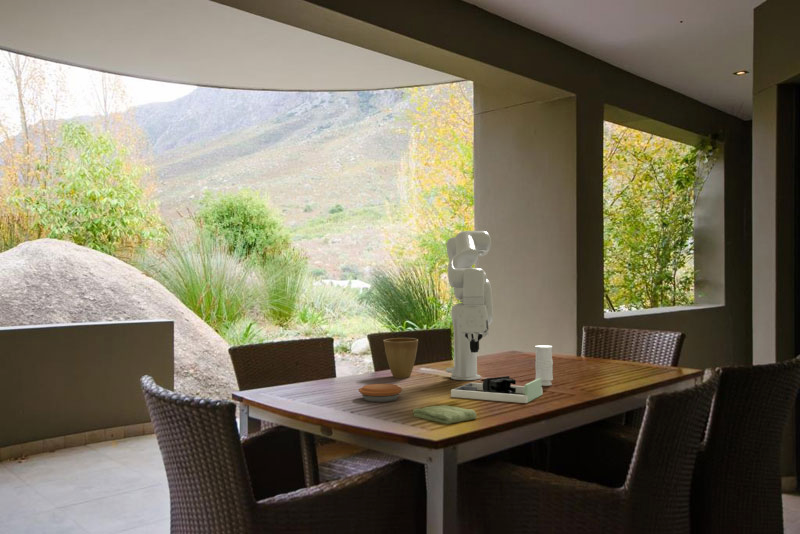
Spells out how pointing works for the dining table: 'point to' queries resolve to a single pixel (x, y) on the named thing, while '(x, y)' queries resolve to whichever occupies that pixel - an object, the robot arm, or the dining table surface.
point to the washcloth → (445, 414)
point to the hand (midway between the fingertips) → (474, 352)
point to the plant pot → (401, 355)
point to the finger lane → (529, 389)
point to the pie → (380, 392)
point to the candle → (544, 364)
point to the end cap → (499, 385)
